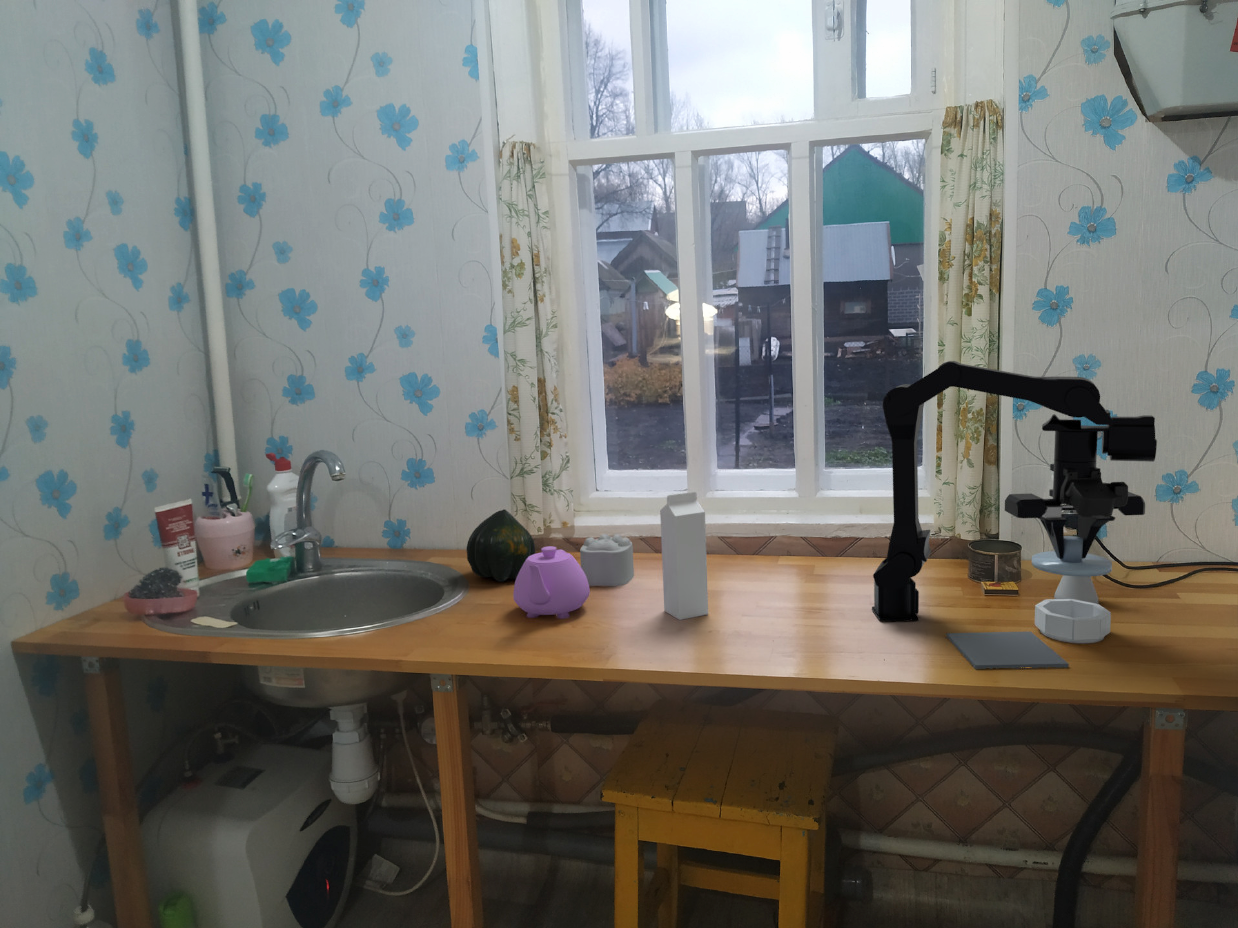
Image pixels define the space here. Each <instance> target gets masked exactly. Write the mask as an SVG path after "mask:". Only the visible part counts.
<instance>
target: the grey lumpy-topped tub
mask: <svg viewBox="0 0 1238 928" xmlns="http://www.w3.org/2000/svg"><path fill="white" fill-rule="evenodd" d="M633 545H634V544H633V542H632V541H631V540H630V539H629V538H628V537H622V535H621V534H619V533H615V534H613V536H610V535H608V534H607V533H602V534H601V535H599V537H598V538H594V537H589V536H588V537H587V538H585V540H584V542H583V545H582V546H581V547H580V549H579V554H580V555H579V556H580V567H581V568H582V570H583V571H584V573H585V575H586V577H587V580H588V584H589V587H595V586H596V587H597V586H600V587H601V586H602V587H603V586H604V587H620V586H625V585H627V584H629V583H630V582H631V581H632V580H633V578H634V576H635V573H634V572H635V570H634V548H633Z"/></svg>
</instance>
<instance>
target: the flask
mask: <svg viewBox="0 0 1238 928" xmlns="http://www.w3.org/2000/svg"><path fill="white" fill-rule="evenodd" d="M1053 599H1075V600H1080V601H1085V602H1090V603H1095V604H1099V602H1100V601H1099V597H1098V594H1097V591H1096V588H1095V586H1094V582H1093V579H1092V576H1090V577H1079V576H1066V575H1062V577H1061V579H1060V582H1059V583H1058V585H1057V588H1056V590H1055V592H1054V597H1053Z"/></svg>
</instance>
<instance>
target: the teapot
mask: <svg viewBox="0 0 1238 928" xmlns="http://www.w3.org/2000/svg"><path fill="white" fill-rule="evenodd" d="M540 549H541V552H538V553H535V554H533V555H531V556H529V557H528V558H527V559H526V561H525V562H524V564H523V566H522V568H521V569H520V571H519V573H518V576H517V578H515V582H514V586H513V594H512V595H513V597H512V598H513V601H514V602H515V604H516V605H517V606H518V607H519V608H520V609H522V611H523V612H525V613H527V614H526V618H530V619H532V618H537V617H539V616H540V615H541V616H548V615H549V616H550V615H551V616H553V615H555V616H556V618H557V619H561V620H562V619H568V618H570V616H571V615H570V614H569V612H573V611H576V610H578V609H580V607H582V606H583V605H584V604H585V602H586V601H587V599H588V598H589V597H590V594H591V593H590V592H591V591H590V586H589V584H588V580H587V577H586V575H585V573H584V571H583V570H582V568H581V564H580V563H579V562H578V561H577V560H576V559H575V557H574V556H573V555H572V554H571V553H569V552H566V551H565V550H564V549H558V548H557V547H556V546H550V545H549V546H544V547H541V548H540Z"/></svg>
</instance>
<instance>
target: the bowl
mask: <svg viewBox="0 0 1238 928" xmlns="http://www.w3.org/2000/svg"><path fill="white" fill-rule="evenodd" d="M1111 614H1112V612H1111V611H1109V610H1108V609H1107V608H1106V607H1103V606H1102V605H1100V604H1099V603H1098V604H1095V603H1090V602H1085V601H1080V600H1075V599H1054V598H1050V599H1047V598H1046V599H1043V600H1042V601H1040V602H1039V603H1037V604H1035V605H1034V626H1036V628H1038V629H1039V631H1040V633H1041V634H1042V635H1043V636H1045V637H1047V638H1049V639H1052V640H1056V641H1059V642H1064V643H1069V644H1084V645H1085V644H1094V643H1095V644H1096V643H1099V642H1102V641H1103V640H1104V639H1105V636H1107V635H1108V634H1110V633H1111V619H1112V615H1111Z"/></svg>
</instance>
